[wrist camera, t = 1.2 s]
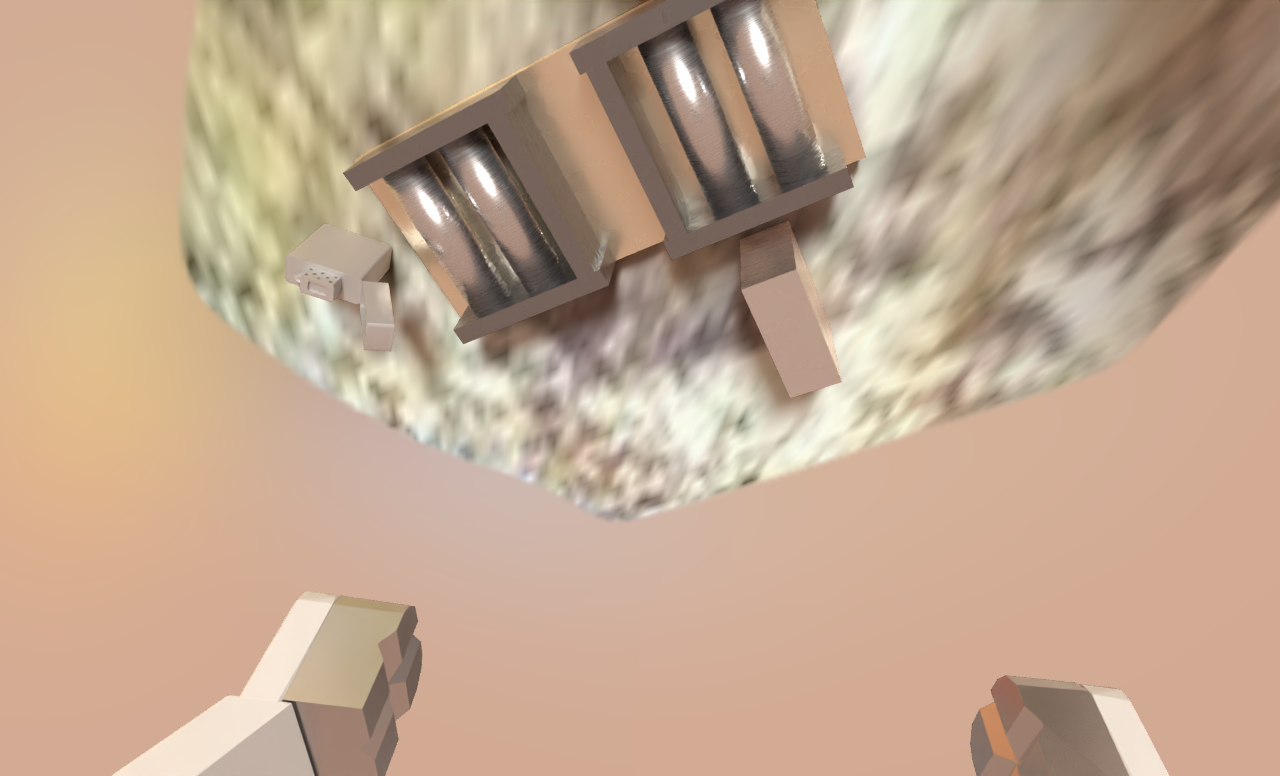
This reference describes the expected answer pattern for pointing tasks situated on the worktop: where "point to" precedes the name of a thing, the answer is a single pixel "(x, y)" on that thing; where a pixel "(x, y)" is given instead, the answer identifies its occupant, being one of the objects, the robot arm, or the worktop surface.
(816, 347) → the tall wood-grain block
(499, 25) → the worktop surface
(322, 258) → the lighter
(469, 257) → the metal roller rack
